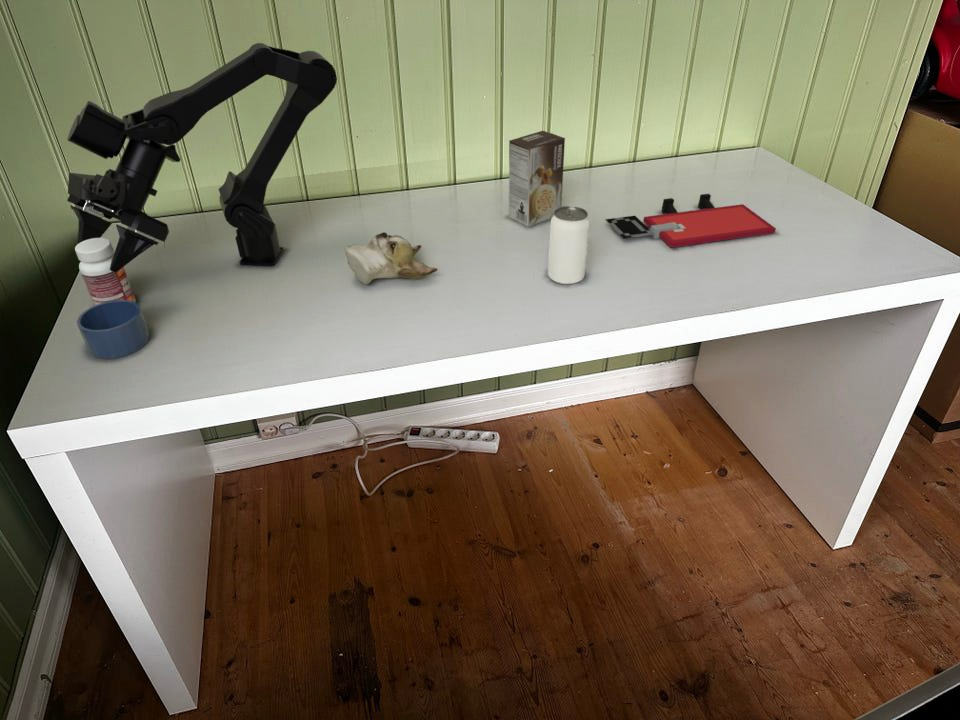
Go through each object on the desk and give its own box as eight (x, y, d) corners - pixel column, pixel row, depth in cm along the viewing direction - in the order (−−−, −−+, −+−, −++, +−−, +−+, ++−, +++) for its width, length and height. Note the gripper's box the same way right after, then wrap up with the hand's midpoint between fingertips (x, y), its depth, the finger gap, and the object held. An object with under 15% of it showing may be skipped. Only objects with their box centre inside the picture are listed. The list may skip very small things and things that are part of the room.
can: (560, 289, 117) (565, 224, 110) (540, 272, 122) (543, 209, 115) (591, 280, 120) (598, 216, 112) (571, 264, 124) (576, 202, 117)
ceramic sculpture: (336, 224, 118) (420, 215, 123) (340, 269, 123) (420, 258, 128) (350, 252, 110) (439, 241, 115) (354, 298, 115) (438, 285, 120)
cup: (159, 327, 109) (150, 300, 106) (133, 360, 102) (122, 332, 99) (107, 325, 110) (96, 298, 107) (77, 357, 103) (65, 330, 100)
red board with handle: (600, 219, 138) (633, 254, 127) (602, 206, 136) (636, 241, 125) (731, 203, 145) (774, 235, 133) (734, 190, 143) (777, 221, 132)
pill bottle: (139, 308, 114) (117, 247, 107) (99, 320, 111) (74, 258, 104) (132, 292, 118) (110, 232, 111) (93, 303, 115) (68, 242, 108)
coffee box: (540, 205, 145) (543, 129, 135) (561, 215, 141) (566, 137, 131) (507, 217, 140) (508, 139, 130) (528, 228, 136) (531, 148, 126)
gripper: (56, 138, 107) (14, 229, 106) (126, 162, 98) (81, 262, 98) (119, 170, 117) (81, 254, 116) (188, 195, 108) (147, 286, 107)
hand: (96, 263), depth 109 cm, fingers open, 9 cm apart
